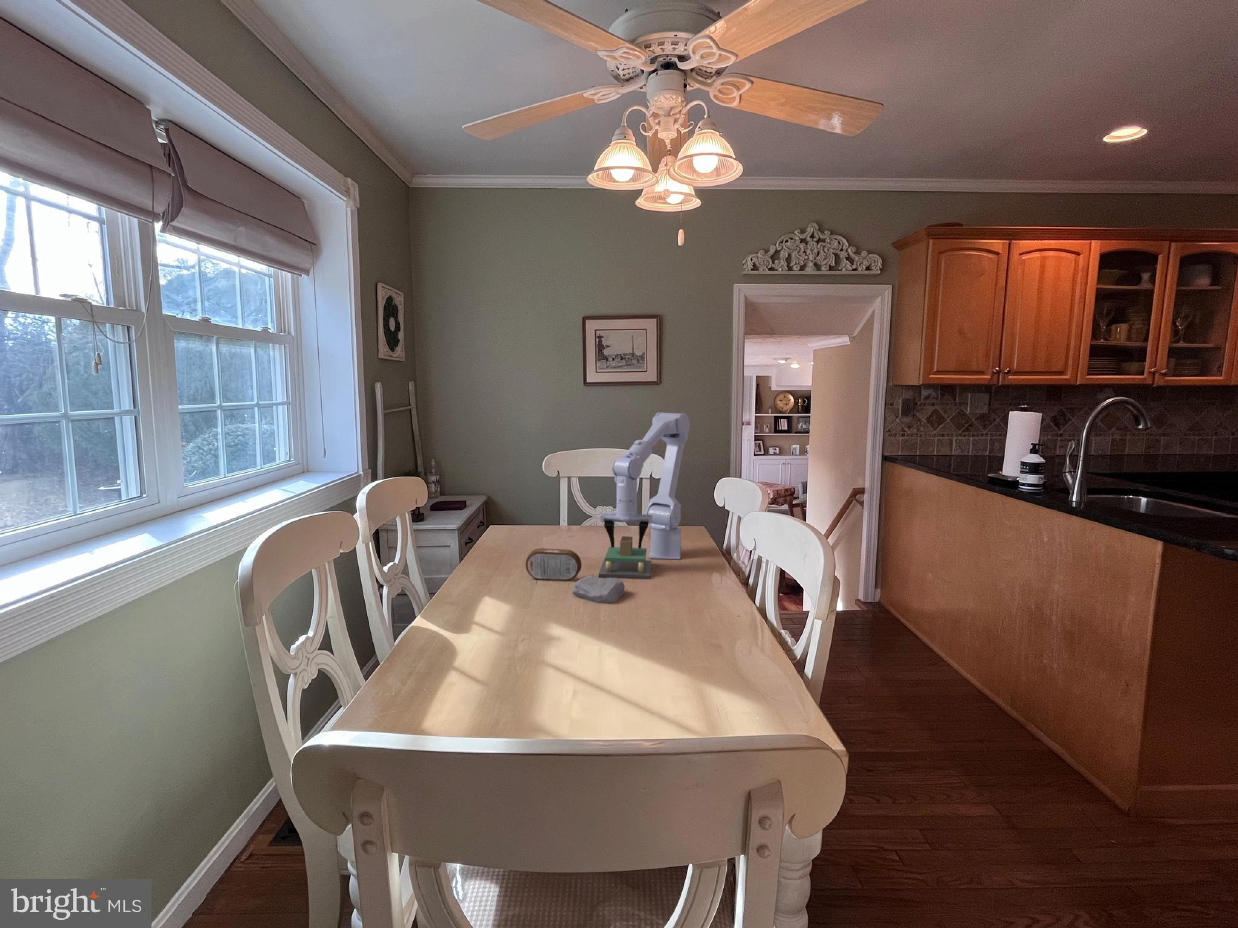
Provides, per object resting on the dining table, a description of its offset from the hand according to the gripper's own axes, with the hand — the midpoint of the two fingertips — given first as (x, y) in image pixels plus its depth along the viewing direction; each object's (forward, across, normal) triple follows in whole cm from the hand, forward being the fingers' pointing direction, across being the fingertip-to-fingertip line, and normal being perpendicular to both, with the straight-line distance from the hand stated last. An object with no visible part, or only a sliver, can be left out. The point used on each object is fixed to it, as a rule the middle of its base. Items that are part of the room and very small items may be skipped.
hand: (626, 547), depth 173 cm
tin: (+7, -19, -10) cm, 23 cm away
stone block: (+7, -6, -21) cm, 23 cm away
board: (+3, 0, 0) cm, 3 cm away
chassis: (+7, 0, 0) cm, 7 cm away
